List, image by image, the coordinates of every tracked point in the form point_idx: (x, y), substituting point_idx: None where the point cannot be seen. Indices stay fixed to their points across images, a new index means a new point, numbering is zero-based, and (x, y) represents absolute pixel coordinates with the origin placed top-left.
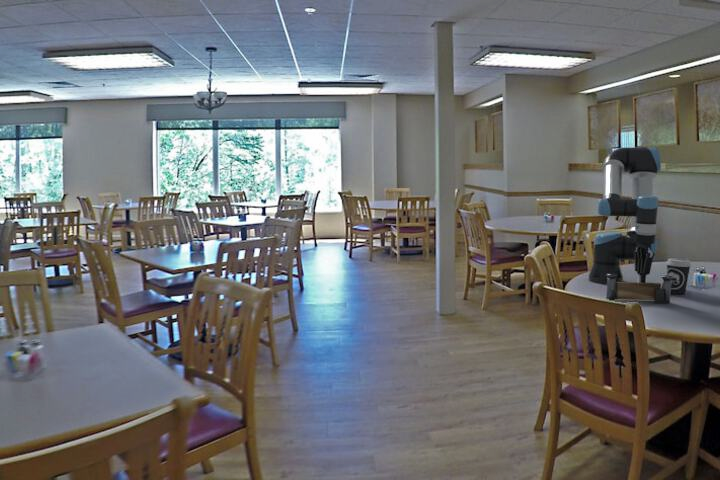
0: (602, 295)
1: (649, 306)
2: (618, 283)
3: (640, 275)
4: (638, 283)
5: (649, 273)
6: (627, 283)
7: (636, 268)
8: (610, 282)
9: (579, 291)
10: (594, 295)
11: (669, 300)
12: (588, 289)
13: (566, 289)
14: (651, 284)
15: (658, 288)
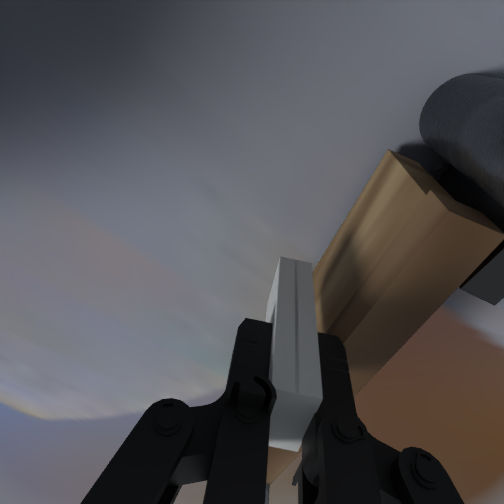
0: (159, 363)
1: (471, 306)
2: (273, 476)
3: (300, 435)
4: None
5: (445, 473)
6: (300, 447)
7: (172, 501)
8: None
9: (72, 398)
10: (156, 390)
11: None
12: (21, 347)
13: (36, 416)
14: (419, 316)
15: (494, 265)
